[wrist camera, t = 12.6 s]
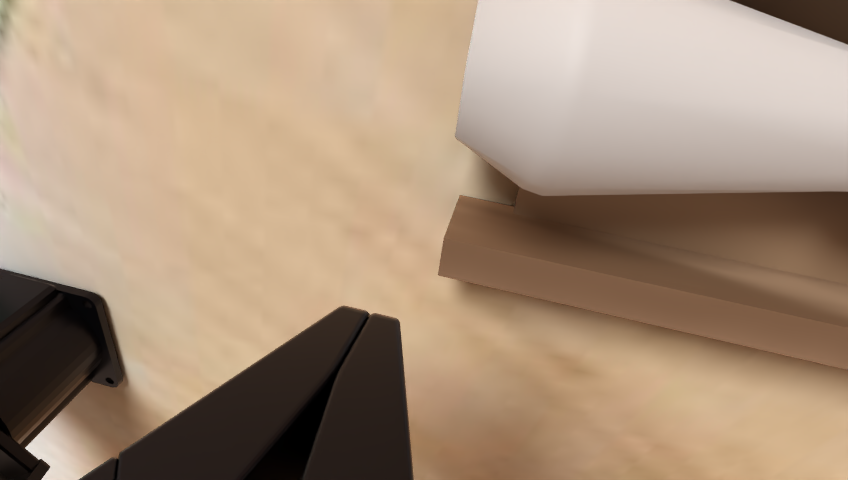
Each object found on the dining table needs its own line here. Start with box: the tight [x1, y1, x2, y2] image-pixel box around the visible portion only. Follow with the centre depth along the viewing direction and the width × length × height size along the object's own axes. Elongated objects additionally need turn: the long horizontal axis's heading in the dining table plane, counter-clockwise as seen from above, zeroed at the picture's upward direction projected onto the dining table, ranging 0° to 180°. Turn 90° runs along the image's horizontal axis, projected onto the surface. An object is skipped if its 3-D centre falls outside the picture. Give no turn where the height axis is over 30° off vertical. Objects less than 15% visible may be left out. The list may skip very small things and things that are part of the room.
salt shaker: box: [455, 0, 848, 196], centre depth 14 cm, size 6×6×13 cm
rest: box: [438, 0, 848, 370], centre depth 16 cm, size 12×16×3 cm
